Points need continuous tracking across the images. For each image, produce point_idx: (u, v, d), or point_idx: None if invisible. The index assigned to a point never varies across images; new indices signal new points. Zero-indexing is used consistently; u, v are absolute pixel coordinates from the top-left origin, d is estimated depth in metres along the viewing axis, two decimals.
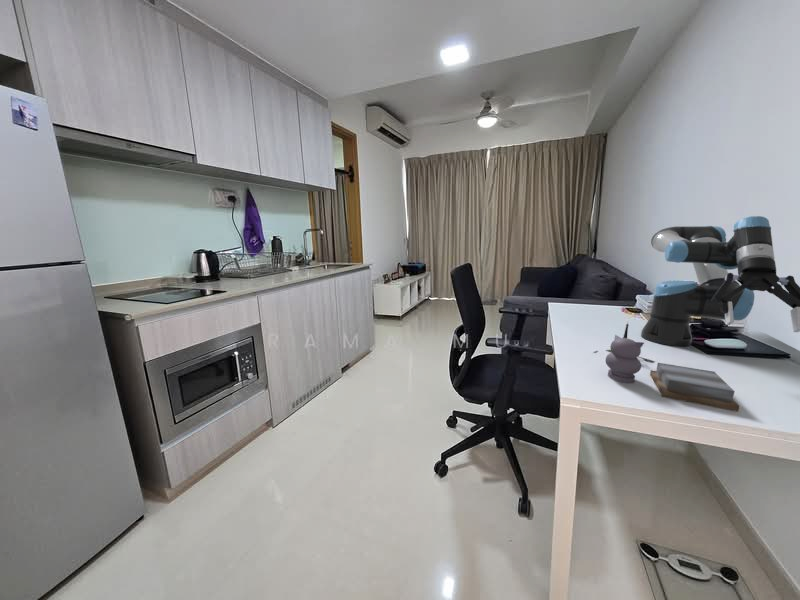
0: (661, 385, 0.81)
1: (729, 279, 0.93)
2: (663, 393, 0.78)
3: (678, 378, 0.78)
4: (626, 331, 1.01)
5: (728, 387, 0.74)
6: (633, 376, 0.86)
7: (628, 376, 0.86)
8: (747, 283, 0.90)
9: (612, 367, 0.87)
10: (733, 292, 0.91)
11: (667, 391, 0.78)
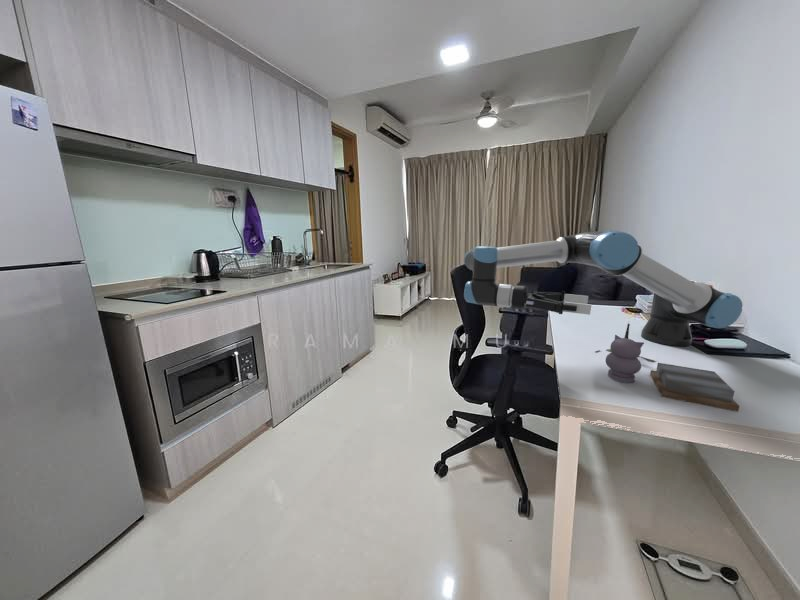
0: (661, 385, 0.81)
1: None
2: (663, 393, 0.78)
3: (678, 378, 0.78)
4: (627, 331, 1.01)
5: (728, 387, 0.74)
6: (633, 376, 0.86)
7: (628, 376, 0.86)
8: None
9: (612, 367, 0.87)
10: None
11: (667, 391, 0.78)
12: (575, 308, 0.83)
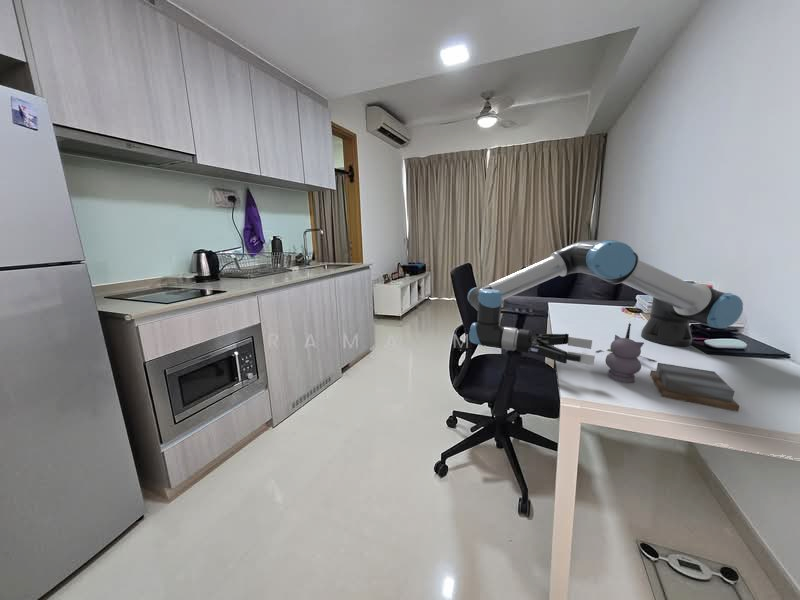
0: (661, 385, 0.81)
1: None
2: (663, 393, 0.78)
3: (678, 378, 0.78)
4: (628, 331, 1.01)
5: (728, 387, 0.74)
6: (633, 376, 0.86)
7: (628, 376, 0.86)
8: None
9: (612, 367, 0.87)
10: None
11: (667, 391, 0.78)
12: (579, 358, 0.85)
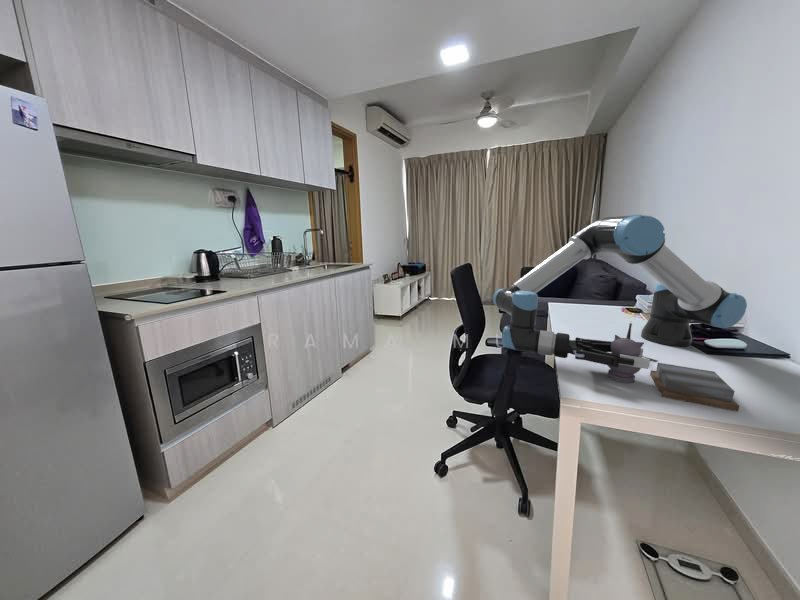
0: (661, 385, 0.81)
1: None
2: (663, 393, 0.78)
3: (678, 378, 0.78)
4: (629, 330, 1.02)
5: (728, 387, 0.74)
6: (633, 376, 0.86)
7: (628, 376, 0.86)
8: None
9: (612, 367, 0.87)
10: None
11: (667, 391, 0.78)
12: (632, 362, 0.82)
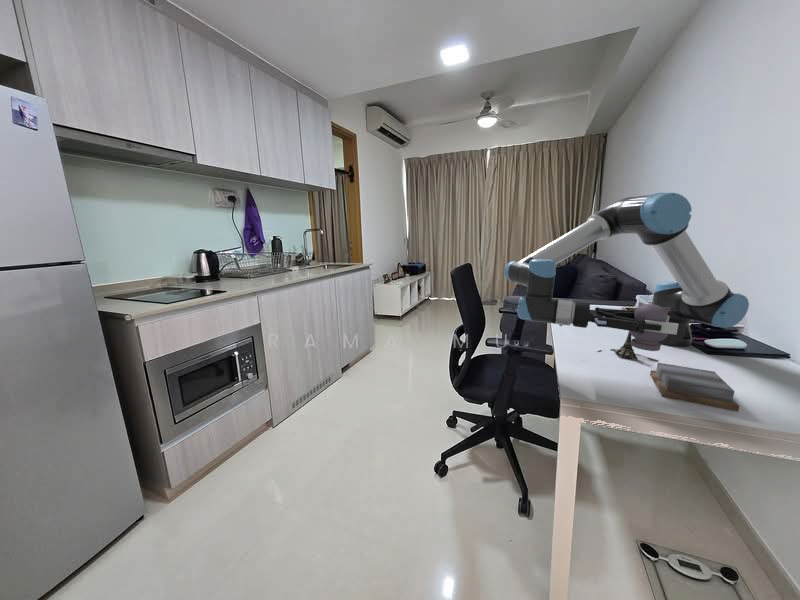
0: (661, 385, 0.81)
1: None
2: (663, 393, 0.78)
3: (678, 378, 0.78)
4: None
5: (728, 387, 0.74)
6: (659, 344, 0.82)
7: (653, 344, 0.81)
8: None
9: (636, 335, 0.82)
10: None
11: (667, 391, 0.78)
12: (659, 327, 0.77)
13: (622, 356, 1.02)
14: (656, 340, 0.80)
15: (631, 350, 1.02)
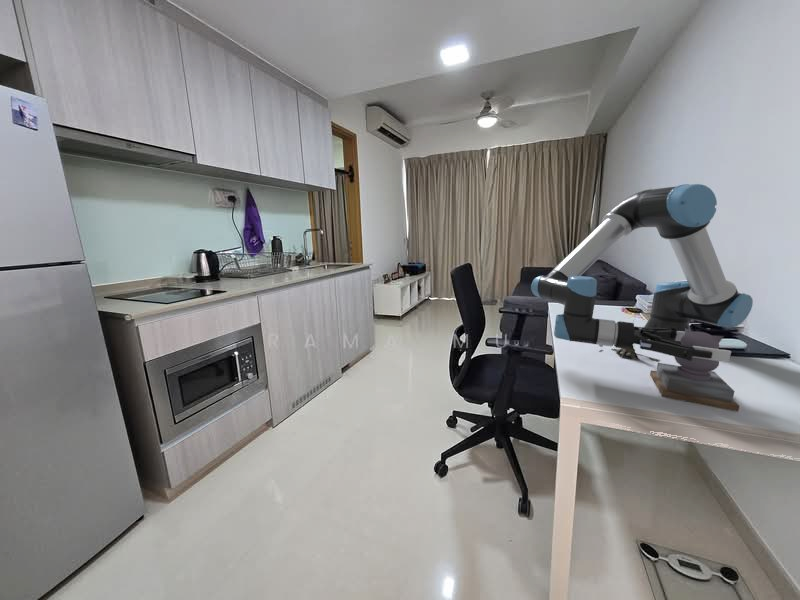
0: (661, 385, 0.81)
1: None
2: (663, 393, 0.78)
3: (678, 378, 0.78)
4: None
5: (728, 387, 0.74)
6: (708, 374, 0.78)
7: (703, 374, 0.77)
8: None
9: (685, 364, 0.78)
10: None
11: (667, 391, 0.78)
12: (710, 355, 0.71)
13: (623, 356, 1.03)
14: (707, 370, 0.76)
15: (633, 350, 1.02)
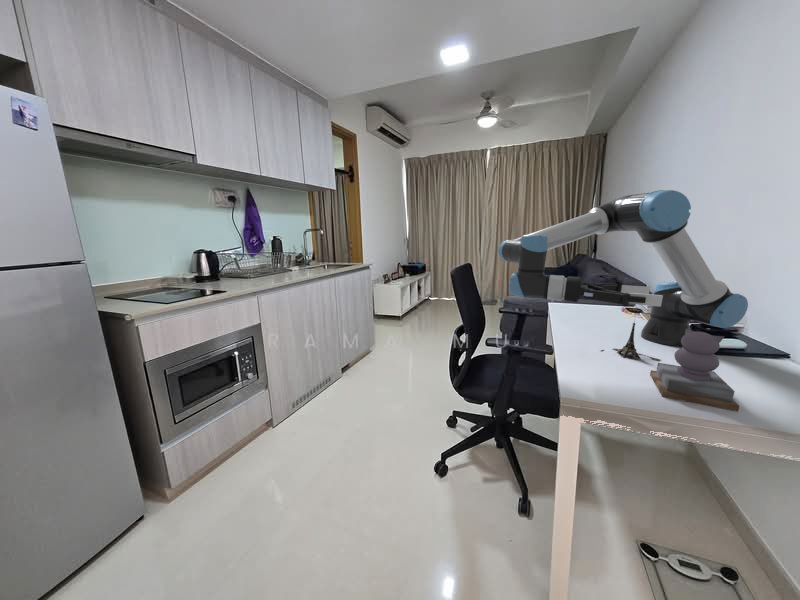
0: (661, 385, 0.81)
1: None
2: (663, 393, 0.78)
3: (678, 378, 0.78)
4: (633, 330, 1.02)
5: (728, 387, 0.74)
6: (708, 374, 0.78)
7: (703, 374, 0.77)
8: None
9: (685, 364, 0.78)
10: None
11: (667, 391, 0.78)
12: (644, 299, 0.75)
13: (624, 355, 1.03)
14: (707, 370, 0.76)
15: (634, 350, 1.02)
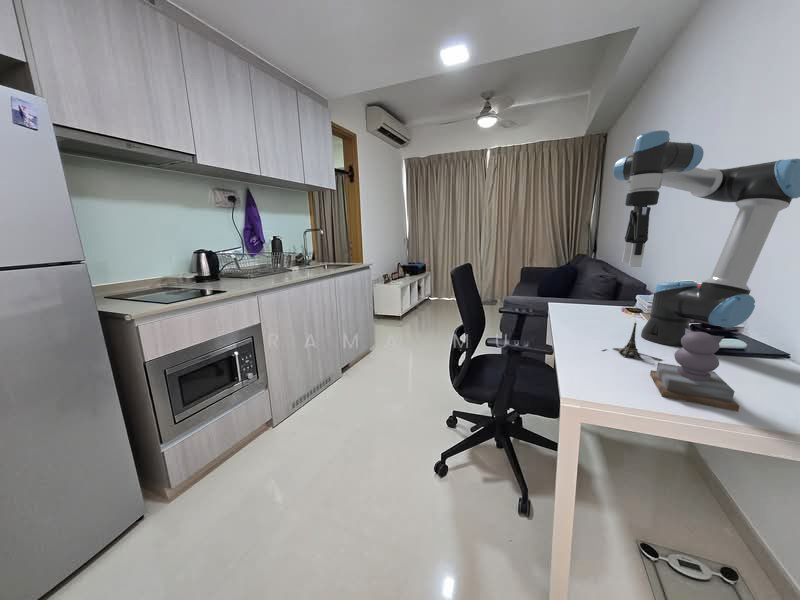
0: (661, 385, 0.81)
1: None
2: (663, 393, 0.78)
3: (678, 378, 0.78)
4: (634, 330, 1.02)
5: (728, 387, 0.74)
6: (708, 374, 0.78)
7: (703, 374, 0.77)
8: (629, 221, 0.93)
9: (685, 364, 0.78)
10: (628, 232, 0.96)
11: (667, 391, 0.78)
12: (638, 254, 0.85)
13: (626, 355, 1.03)
14: (707, 370, 0.76)
15: (635, 350, 1.03)
